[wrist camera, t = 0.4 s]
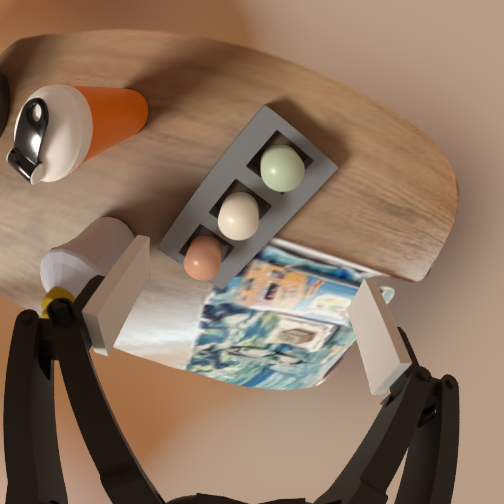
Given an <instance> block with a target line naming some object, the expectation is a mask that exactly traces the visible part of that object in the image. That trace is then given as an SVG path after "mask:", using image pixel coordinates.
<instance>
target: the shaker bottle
mask: <svg viewBox="0 0 504 504" xmlns="http://www.w3.org/2000/svg"><path fill="white" fill-rule="evenodd" d="M147 117H148V105H147V102H146V100H145V98H144V97H143V96H142V95H141V94H140V93H139V92H137V91H135V90H131V89H121V88H107V87H86V86H72V85H69V84H58V85H49V86H44V87H42V88H40V89H38V90H37V91H36V92H34V93H33V94H32V95H31V96H30V97H29V99H28V100H27V101H26V103H25V104H24V106H23V107H22V109H21V111H20V113H19V115H18V118H17V121H16V125H15V132H14V146H13V147H12V148H11V149H10V151H9V152H8V155H7V163H8V164H9V165H10V166H11V167H12V168H13V169H15V170H16V171H17V172H18V173H19V174H20V175H22V176H23V177H24V178H25V179H26V180H28V181H29V182H30V183H31V184H36V183H38V182H39V181H41V180H42V181H46V182H52V181H57V180H59V179H61V178H63V177H64V176H66V175H68V174H70V173H72V172H74V171H75V170H76V169H77V168H79V167H80V165H81V164H82V163H84V162H86V161H87V160H89V159H91V158H92V157H94V156H96V155H97V154H99V153H101V152H103V151H104V150H106V149H108V148H110V147H112V146H114V145H115V144H117V143H119V142H121V141H123V140H125V139H127V138H129V137H131V136H133V135H135V134H136V133H138V132H139V131H140V130H141V129H142V128H143V126H144V125H145V123H146V120H147Z"/></svg>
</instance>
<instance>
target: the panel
mask: <svg viewBox="0 0 504 504" xmlns="http://www.w3.org/2000/svg"><path fill="white" fill-rule="evenodd" d="M276 130H278V131H279V132H281V133H282V134H283V135H284V136H286V137H287V138H288V139H289V140H290V141H292V142H293V143H294V144H295V145H296V146H298V147H299V148H300V149H301V150H302V151H303V152H305V153H306V154H307V155H308V156H309V157H308V158H307V159H306V160H305V161H304V163H303V164H304V168H305V174H304V178H303V180H302V182H301V183H300V184H299V185H298V186H297V187H296V188H294V189H293V190H290V191H286V192H279V191H275V190H273V189H271V188H269V187H268V186H267V185H266V184H265V182H264V181H263V179H262V176H261V172H260V171H259V170H258V169H256V168H255V167H254V166H252V165H251V164H250V163H249V161H250V160H251V159H252V158H253V157H254V156H255V154H256V153H257V152H258V151H259V150H260V148H261V147H262V146H263V145H264V144H265V143H266V141H267V140H268V139H269V138H270V137H271V136H272V135H273V133H274V132H275V131H276ZM337 169H338V167H337V166H336V165H335V164H334V163H333V162H332V161H331V160H330V159H329V158H328V157H327V156H326V155H325V154H323V153H322V152H321V151H320V150H319V149H318V148H317V147H316V146H315V145H313V144H312V143H311V142H310V141H309V140H308V139H307V138H305V137H304V136H303V135H302V134H301V133H300V132H298V131H297V130H296V129H295V128H294V127H292V126H291V125H290V124H289V123H288V122H286V121H285V120H284V119H283V118H281V117H280V116H279V115H278V114H276V113H275V112H274V111H273V110H271V109H270V108H269V107H267V106H266V105H265V104H264V106H263V107H262V108H261V109H260V110H259V111H258V112H257V114H256V115H255V116H254V117H253V118H252V120H251V121H250V122H249V123H248V124H247V125H246V127H245V128H244V129H243V130H242V131H241V133H240V134H239V135H238V136H237V138H236V139H235V140H234V141H233V143H232V144H231V145H230V146H229V148H228V149H227V150H226V151H225V153H224V154H223V155H222V156H221V158H220V159H219V160H218V162H217V163H216V164H215V165H214V167H213V168H212V169H211V171H210V172H209V173H208V175H207V176H206V177H205V179H204V180H203V181H202V183H201V184H200V185H199V187H198V188H197V190H196V191H195V192H194V194H193V195H192V197H191V198H190V199H189V201H188V202H187V204H186V205H185V206H184V208H183V209H182V211H181V212H180V214H179V215H178V216H177V218H176V219H175V221H174V222H173V224H172V225H171V227H170V228H169V230H168V231H167V233H166V234H165V236H164V237H163V239H162V240H161V242H160V244H159V246H158V247H157V249H159V250H160V251H162V252H163V253H165V254H166V255H168V256H169V257H171V258H172V259H174V260H176V261H177V262H179V263H180V264H182V265H183V266H184V259H185V256H186V254H187V251H188V249H189V246H188V245H186V244H185V243H186V241H187V240H188V239H189V237H190V236H191V235H192V233H193V232H194V231H195V229H196V228H197V227H198V225H199V224H202V225H203V226H205V227H206V228H208V229H209V230H211V231H212V232H214V233H215V234H217V235H218V236H219V237H221V238H222V239H224V240H225V241H227V242H228V243H230V245H229V246H228V248H227V249H226V250H225V251H224V252H223V253H222V258H221V263H220V268H219V272H218V274H217V275H216V276H215V277H214V278H212V279H210V280H207V281H209V282H211V283H212V284H214V285H215V286H217V287H219V288H220V289H223V288H224V287H225V286H226V285H227V284H228V283H229V282H230V281H231V280H232V279H233V278H234V277H235V276H236V275H237V274H238V273H239V272H240V271H241V270H242V269H243V268H244V267H245V265H246V264H247V263H248V262H249V261H250V260H251V259H252V258H253V257H254V256H255V255H256V254H257V253H258V252H259V251H260V250H261V249H262V248H263V247H264V246H265V245H266V244H267V243H268V241H269V240H270V239H271V238H272V237H273V236H274V235H275V234H276V233H277V232H278V231H279V230H280V229H281V228H282V227H283V226H284V225H285V224H286V223H287V222H288V221H289V219H290V218H291V217H292V216H293V215H294V214H295V213H296V212H297V211H298V210H299V209H300V208H301V207H302V206H303V205H304V204H305V203H306V202H307V201H308V200H309V198H310V197H311V196H312V195H313V194H314V193H315V192H316V191H317V190H318V189H319V188H320V187H321V186H322V185H323V184H324V183H325V182H326V181H327V180H328V178H329V177H330V176H331V175H332V174H333V173H334V172H335V171H336V170H337ZM235 178H236V179H237V180H239V181H240V182H241V183H243V184H244V185H245V186H247V187H248V188H249V189H251V190H252V191H253V192H255V193H256V194H257V195H259V196H260V197H261V198H263V199H264V200H265V201H267V203H266V205H265V206H264V207H263V208H262V209H261V210H260V211H259V212H258V213H259V224H258V228H257V230H256V232H255V233H254V234H253V235H252V236H251V237H249V238H247V239H244V240H233V239H230V238H228V237H226V236H225V235H224V234H223V233H222V232H221V230H220V229H219V226H218V217H219V213H220V210H219V209H218V208H216V207H215V206H214V205H215V203H216V202H217V201H218V200H219V198H220V197H221V196H222V195H223V193H224V192H225V191H226V190H227V188H228V187H229V186H230V185H231V183H232V182H233V181H234V180H235Z"/></svg>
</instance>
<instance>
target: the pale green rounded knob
mask: <svg viewBox="0 0 504 504" xmlns="http://www.w3.org/2000/svg"><path fill="white" fill-rule="evenodd" d="M260 165H261V176H262V179H263V181H264V182H265V184H266V185H267V186H268V187H269V188H271V189H273V190H275V191H279V192H286V191H290V190H293V189H294V188H296V187H297V186H298V185H299V184H300V183H301V182H302V180H303V178H304V174H305V168H304V164H303V162H302V160H301V158H300V157H299V156H298V154H297V153H296V152H295V150H294V149H292V148H291V147H289V146H287V145H284V144H276V145H273V146H270V147H269V148H267V149H266V150H265V151H264V153H263V154H262V157H261V161H260Z"/></svg>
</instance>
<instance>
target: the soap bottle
mask: <svg viewBox="0 0 504 504" xmlns="http://www.w3.org/2000/svg"><path fill="white" fill-rule="evenodd" d="M134 239H135V238H134V235H133V233H132V232H131V230H130V229H129V227H128V226H127V225H126V224H124V223H123V222H122V221H121V220H119V219H116V218H112V217H102V218H98V219H96V220H95V221H94V222H92V223H91V224H90V225H89V226H88V227H87V228H86V229H85V230H84V231H83V232H82V233H81V234H80V235H79V236H77V237H76V238H74V239H73V240H71V241H69V242H68V243H66V244H63V245H61V246H59V247H55V248H52V249H51V250H50V251H48V252H47V253H46V254H45V255H44V256H43V257H42V261H41V266H40V274H41V279H42V284H43V286H44V288H45V290H46V292H47V294H46V296H45V297H44V298H43V301H42V307H43V312H42V315H41V318H49V316H48V314H47V306H48V305H49V303H50V302H51V301H52V300H54V299H56V298H62V297H64V298H68V299H70V300H71V301H72V303H73V302H74V300H75V299H76V298H77V296H78V295H79V293H81V291H82V289H83V288H85V285H86V284H87V283H88V281H89V280H90V279H92V278H93V277H95V276H96V275H101V276H105V277H106V276H107V274H108V273H109V271H110V270H111V269H112V267H113V266H114V265H115V263H116V262H117V261H118V259H119V258H120V257H121V255H122V254H123V253H124V252H125V250H126V249H127V248H128V246H129V245H130V244H131V243H132V241H133V240H134Z"/></svg>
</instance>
